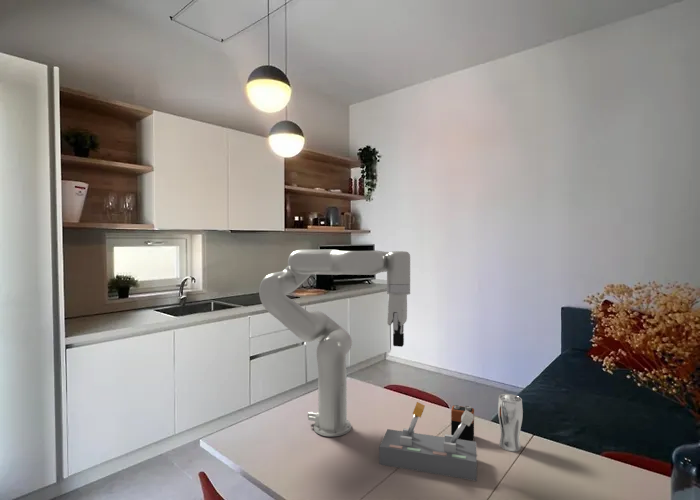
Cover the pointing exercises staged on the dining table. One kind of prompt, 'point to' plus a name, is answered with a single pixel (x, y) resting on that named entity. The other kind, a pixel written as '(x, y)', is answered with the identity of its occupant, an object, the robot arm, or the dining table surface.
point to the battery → (456, 421)
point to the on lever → (462, 425)
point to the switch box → (429, 454)
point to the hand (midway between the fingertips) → (398, 345)
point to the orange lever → (415, 417)
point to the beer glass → (510, 421)
